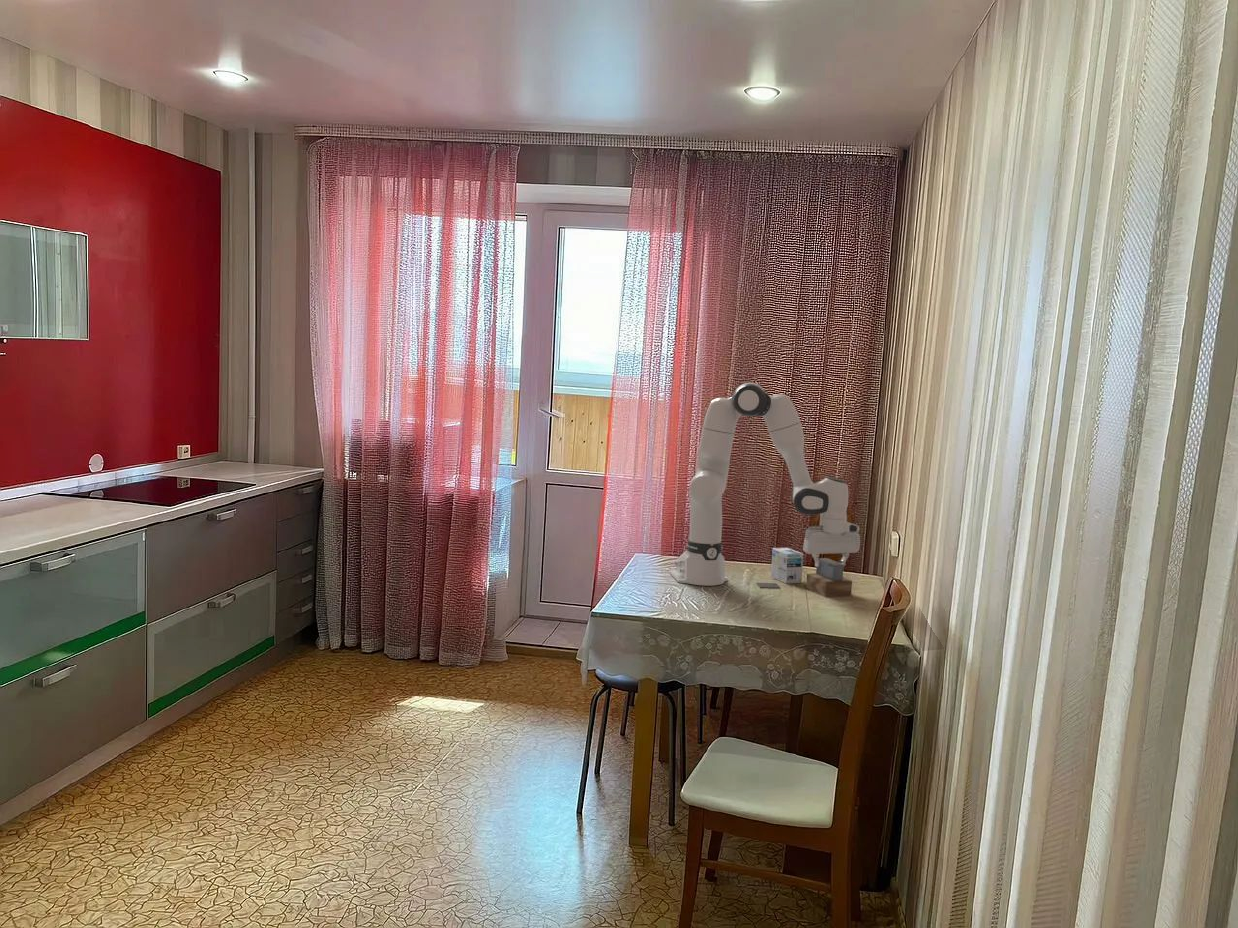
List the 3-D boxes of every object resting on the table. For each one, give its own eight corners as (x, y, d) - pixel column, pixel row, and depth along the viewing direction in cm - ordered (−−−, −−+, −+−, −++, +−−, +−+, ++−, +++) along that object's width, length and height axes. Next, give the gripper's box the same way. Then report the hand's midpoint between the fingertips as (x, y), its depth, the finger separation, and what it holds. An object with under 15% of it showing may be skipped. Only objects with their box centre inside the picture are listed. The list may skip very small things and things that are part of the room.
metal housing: (832, 581, 309) (833, 564, 308) (816, 574, 318) (817, 558, 318) (842, 580, 310) (843, 564, 310) (826, 573, 320) (827, 558, 319)
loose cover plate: (755, 585, 322) (756, 582, 322) (775, 585, 323) (776, 583, 323) (759, 589, 316) (760, 586, 316) (780, 590, 317) (780, 587, 317)
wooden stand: (806, 588, 319) (807, 573, 318) (831, 586, 322) (832, 572, 322) (825, 596, 308) (826, 582, 307) (851, 595, 311) (852, 580, 310)
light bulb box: (802, 583, 326) (804, 553, 325) (785, 584, 323) (787, 553, 322) (785, 576, 336) (787, 546, 335) (769, 577, 333) (771, 547, 332)
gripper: (811, 528, 306) (808, 569, 307) (863, 526, 313) (860, 567, 314) (801, 524, 312) (798, 565, 313) (853, 523, 319) (850, 563, 320)
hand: (830, 566), depth 314 cm, fingers open, 8 cm apart
